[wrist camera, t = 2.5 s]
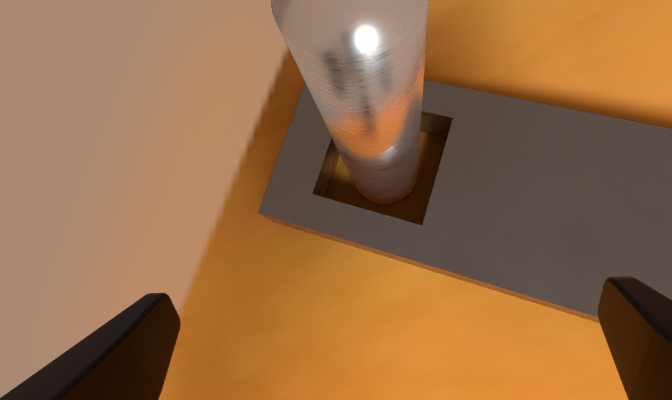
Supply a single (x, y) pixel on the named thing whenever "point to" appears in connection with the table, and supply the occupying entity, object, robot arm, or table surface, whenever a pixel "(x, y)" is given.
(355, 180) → the peg
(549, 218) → the rail
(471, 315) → the table surface
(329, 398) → the table surface
